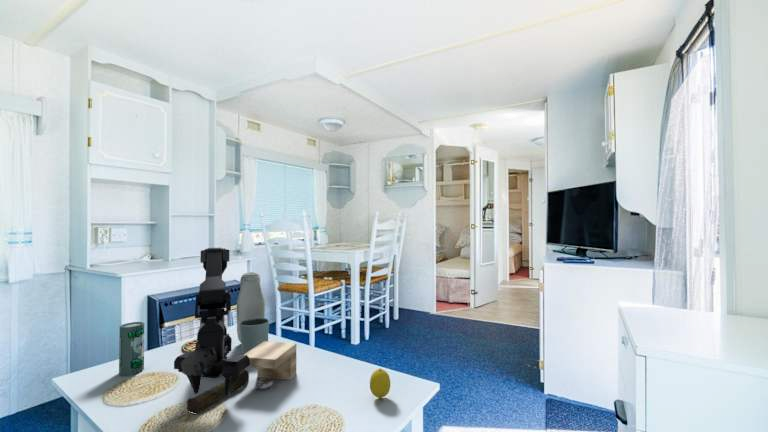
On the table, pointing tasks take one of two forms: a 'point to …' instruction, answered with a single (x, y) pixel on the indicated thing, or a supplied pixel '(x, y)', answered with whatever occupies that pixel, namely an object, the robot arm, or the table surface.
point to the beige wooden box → (274, 359)
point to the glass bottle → (249, 300)
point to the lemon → (380, 383)
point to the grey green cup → (253, 333)
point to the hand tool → (215, 393)
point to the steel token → (264, 384)
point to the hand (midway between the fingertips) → (211, 394)
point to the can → (131, 348)
